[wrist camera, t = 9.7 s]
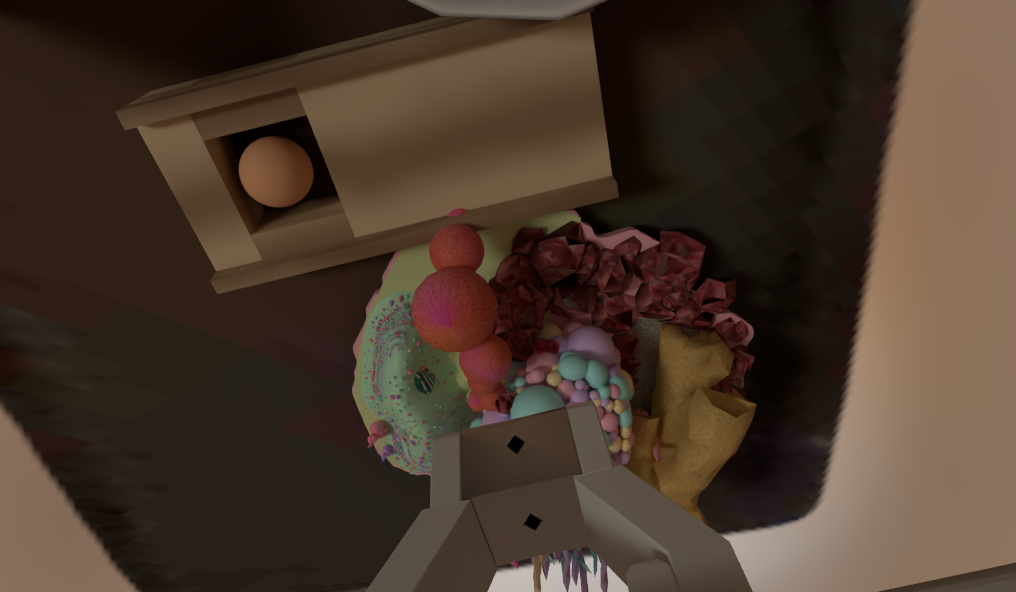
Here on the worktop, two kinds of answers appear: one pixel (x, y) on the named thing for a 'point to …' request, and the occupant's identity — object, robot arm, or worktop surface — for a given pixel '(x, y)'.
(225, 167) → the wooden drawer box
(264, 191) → the ball
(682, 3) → the worktop surface
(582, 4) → the ramen bowl
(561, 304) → the pastel sphere sculpture
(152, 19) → the worktop surface
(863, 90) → the worktop surface
